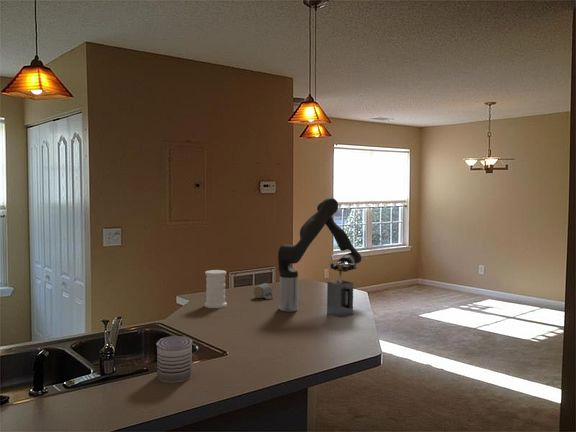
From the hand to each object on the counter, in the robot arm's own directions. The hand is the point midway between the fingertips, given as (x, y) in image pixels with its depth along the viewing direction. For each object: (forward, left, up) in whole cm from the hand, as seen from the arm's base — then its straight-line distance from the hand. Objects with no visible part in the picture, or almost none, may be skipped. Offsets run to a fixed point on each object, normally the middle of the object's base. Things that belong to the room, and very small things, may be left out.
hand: (339, 268), depth 249 cm
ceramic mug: (-53, -6, -24) cm, 59 cm away
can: (+24, -100, -24) cm, 105 cm away
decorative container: (-54, -38, -23) cm, 70 cm away
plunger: (-2, +2, -19) cm, 19 cm away
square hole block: (0, +2, -23) cm, 23 cm away
